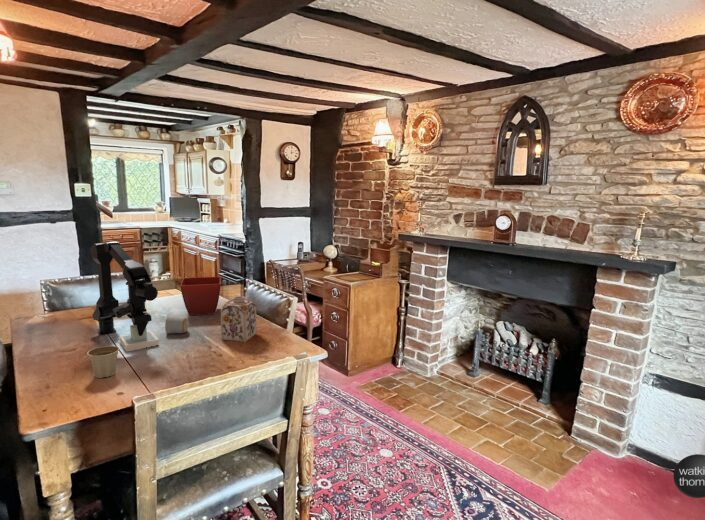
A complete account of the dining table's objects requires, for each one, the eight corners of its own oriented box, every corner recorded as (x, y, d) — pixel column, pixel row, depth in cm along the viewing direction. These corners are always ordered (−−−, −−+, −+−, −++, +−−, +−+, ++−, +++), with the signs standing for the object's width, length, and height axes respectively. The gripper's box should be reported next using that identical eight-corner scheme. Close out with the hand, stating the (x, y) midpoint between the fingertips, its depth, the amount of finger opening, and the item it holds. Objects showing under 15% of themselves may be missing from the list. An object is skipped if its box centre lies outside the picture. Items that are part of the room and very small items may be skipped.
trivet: (120, 342, 172) (119, 336, 171) (151, 336, 179) (150, 330, 179) (126, 351, 163) (125, 345, 162) (158, 345, 170) (158, 338, 170)
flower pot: (97, 368, 147) (96, 345, 145) (125, 368, 148) (124, 345, 146) (83, 380, 138) (81, 356, 136) (112, 380, 138) (111, 355, 137)
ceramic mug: (184, 335, 182) (184, 318, 181) (165, 335, 181) (164, 318, 180) (190, 328, 193) (190, 312, 192) (172, 328, 192) (171, 312, 190)
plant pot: (184, 307, 224) (183, 277, 221) (221, 306, 230) (220, 276, 227) (181, 318, 206) (179, 285, 203) (221, 316, 212) (220, 283, 209)
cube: (130, 337, 171) (130, 325, 170) (144, 334, 174) (143, 323, 173) (133, 340, 167) (132, 328, 166) (146, 338, 170) (146, 326, 169)
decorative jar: (245, 342, 176) (245, 301, 173) (220, 340, 178) (219, 299, 175) (257, 333, 187) (257, 295, 184) (233, 331, 190) (233, 293, 187)
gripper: (109, 294, 170) (112, 330, 172) (118, 304, 155) (121, 344, 158) (139, 291, 177) (141, 326, 179) (150, 300, 162) (152, 338, 165)
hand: (138, 333), depth 170 cm, fingers open, 6 cm apart
